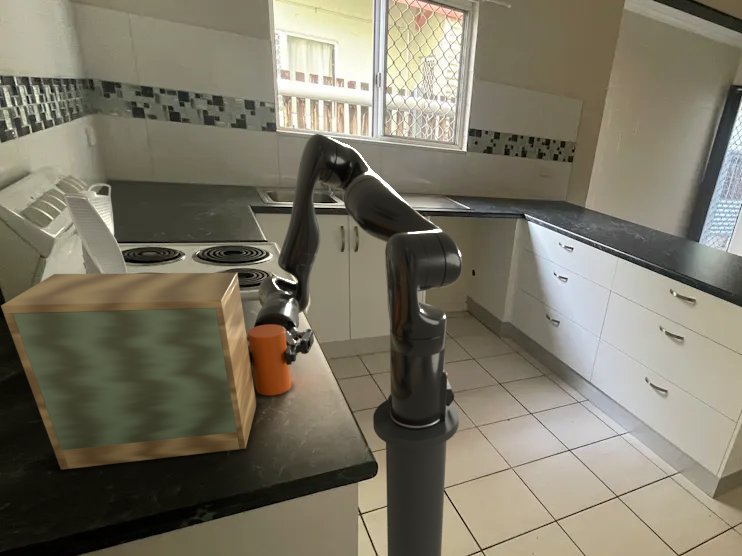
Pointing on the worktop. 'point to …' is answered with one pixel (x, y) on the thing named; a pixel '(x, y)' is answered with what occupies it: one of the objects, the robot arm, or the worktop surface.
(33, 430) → the worktop surface
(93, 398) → the shelf unit
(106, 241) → the box grater
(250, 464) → the worktop surface
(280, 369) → the can
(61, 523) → the worktop surface
